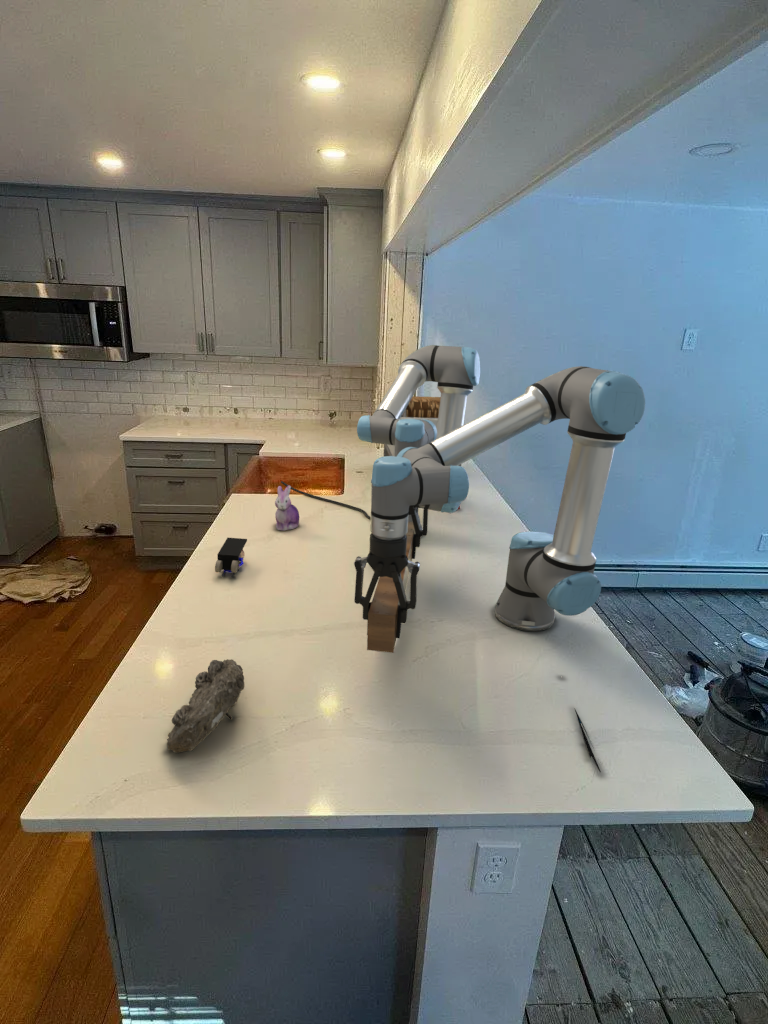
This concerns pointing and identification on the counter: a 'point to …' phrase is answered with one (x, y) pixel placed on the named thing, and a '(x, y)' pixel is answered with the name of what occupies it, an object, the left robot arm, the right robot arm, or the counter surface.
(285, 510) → the figurine
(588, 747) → the feather
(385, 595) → the bar
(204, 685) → the fossil
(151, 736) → the counter surface
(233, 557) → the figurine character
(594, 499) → the right robot arm
